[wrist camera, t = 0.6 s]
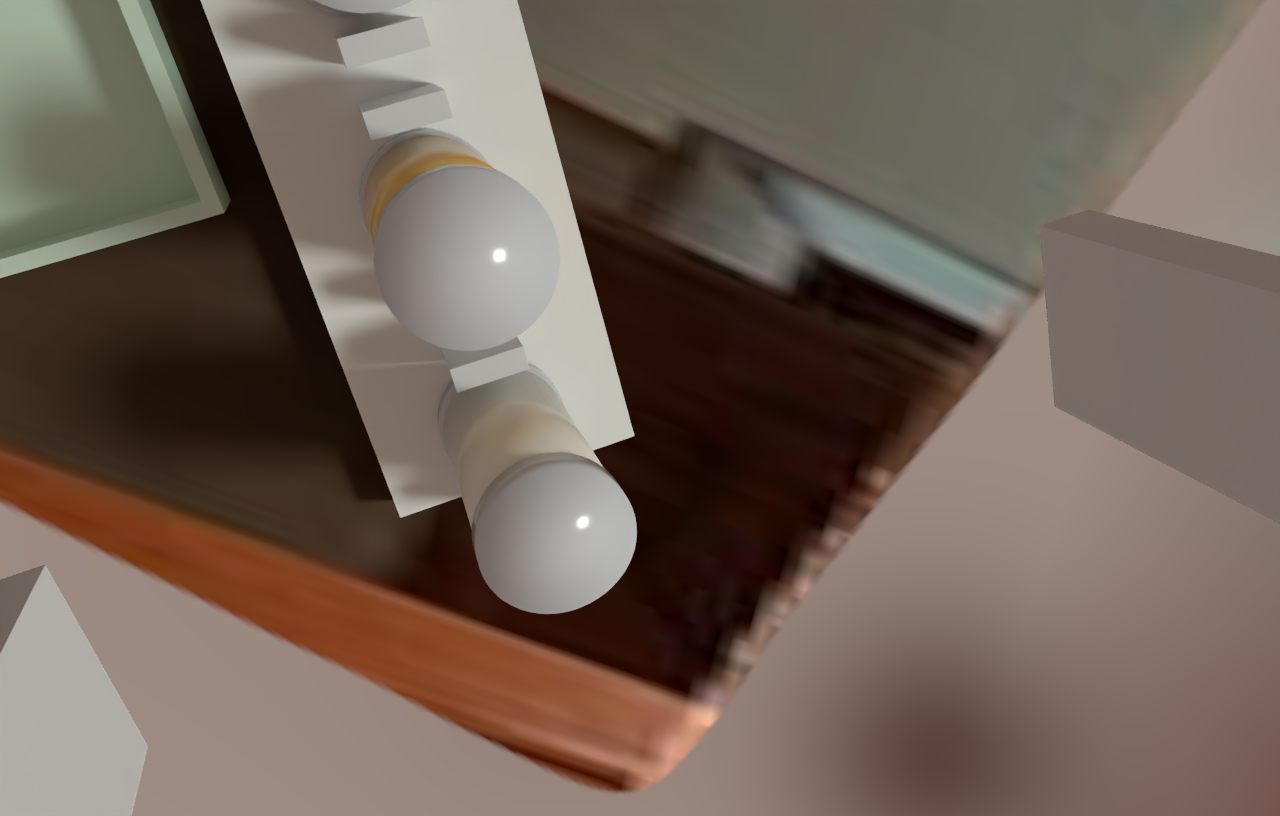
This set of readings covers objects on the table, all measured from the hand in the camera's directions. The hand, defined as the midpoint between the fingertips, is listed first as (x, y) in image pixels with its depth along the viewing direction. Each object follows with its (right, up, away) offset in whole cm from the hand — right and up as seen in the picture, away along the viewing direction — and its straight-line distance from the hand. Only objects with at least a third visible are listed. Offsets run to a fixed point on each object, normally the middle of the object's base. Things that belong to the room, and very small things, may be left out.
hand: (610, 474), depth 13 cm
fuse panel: (-7, +8, +22) cm, 24 cm away
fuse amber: (-6, +8, +21) cm, 23 cm away
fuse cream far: (-5, +1, +24) cm, 24 cm away
